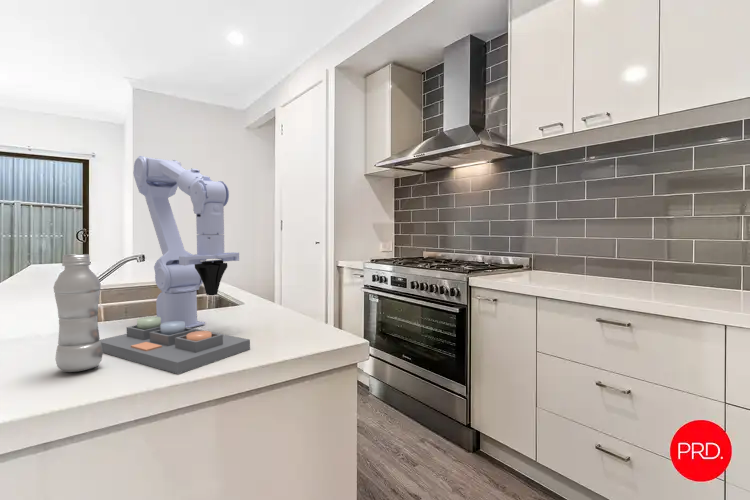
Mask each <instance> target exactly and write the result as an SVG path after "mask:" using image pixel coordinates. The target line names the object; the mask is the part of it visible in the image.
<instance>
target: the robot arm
mask: <svg viewBox="0 0 750 500" xmlns="http://www.w3.org/2000/svg"><path fill="white" fill-rule="evenodd" d="M133 178H134V180H135V184H136V187H137V189H138V193H140V194H141V195H142V196H144V198H145V201H146V205H147V209H148V211H149V216H150V218H151V221H152V224H153V228H154V231H155V234H156V238H157V241H158V244H159V247H160V248H159V249H160V250H161V253H162V255H161V256H160V257H159V258H158V259H157V260H156V261H155V264H154V266H153V269H154V273H155V274H154V281H155V284H156V286H157V288H158V289H159V290H160V291H161V292H160V293H159V294H158V295H157V297H156V302H155V305H156V307H155V308H156V317H161V323H165V322H170V321H184V322H185V327H188V328H194V327H200V326H203V325H206V321H205V322H204V321H199V320H198V300H197V299H198V297H197V295H198V293H197V290H199V291H200V287H201V286H202V285H203V287H204V291H205V294H206V296H216V295H218V292H219V289H220V288H219V287H220V285H221V281H222V278H223V275H224V274H225V271H226V270H227V268H228V263H227V262H233V261H234V262H237V261H240V252H225V217H224V216H225V212H224V209H225V206H227V204H228V202H229V197H230V191H229V187H228V185H227V184H226V183H225V182H224V181H221V180H220V181H219V180H218V181H215V180H212V179H211V178H210V176H208V175H204V174H202V173H200V169H198V168H193V167H192V168H191V169H185V168H184V167H183V166H182V163H181V162H180V161H178V160H175V159H174V160H173V159H172V160H170V159H162V158H154V157H147V156H144V155H139V156H137V158H136V159H135V161H134V163H133ZM178 189H179V190H181V191H182V192H183V193H184V194H185V195H187V196H189V197H190V201H191V203H192V206H193V207H192V208H193V209H192V210H193V213H194V214H196V215H195V216H196V218H195V220H196V221H195V222H196V223H195V224H196V226H195V227H196V253H195V254H193V253H190V252H189V251H187V250H186V249H185V246H184V244H183V241H182V238H181V235H180V231H179V229H178V225H177V221H176V219H175V215H174V212H173V210H172V206H171V203H170V201H169V198H171V197H173V196H174V195H175V194H176V192H177V190H178Z"/></svg>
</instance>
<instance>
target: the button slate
mask: <svg viewBox="0 0 750 500" xmlns="http://www.w3.org/2000/svg"><path fill="white" fill-rule="evenodd" d="M160 328H161V334H165V335H173V334H177V333H181V332H185V322H184V321H170V322H165V323H162V324H160Z"/></svg>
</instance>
